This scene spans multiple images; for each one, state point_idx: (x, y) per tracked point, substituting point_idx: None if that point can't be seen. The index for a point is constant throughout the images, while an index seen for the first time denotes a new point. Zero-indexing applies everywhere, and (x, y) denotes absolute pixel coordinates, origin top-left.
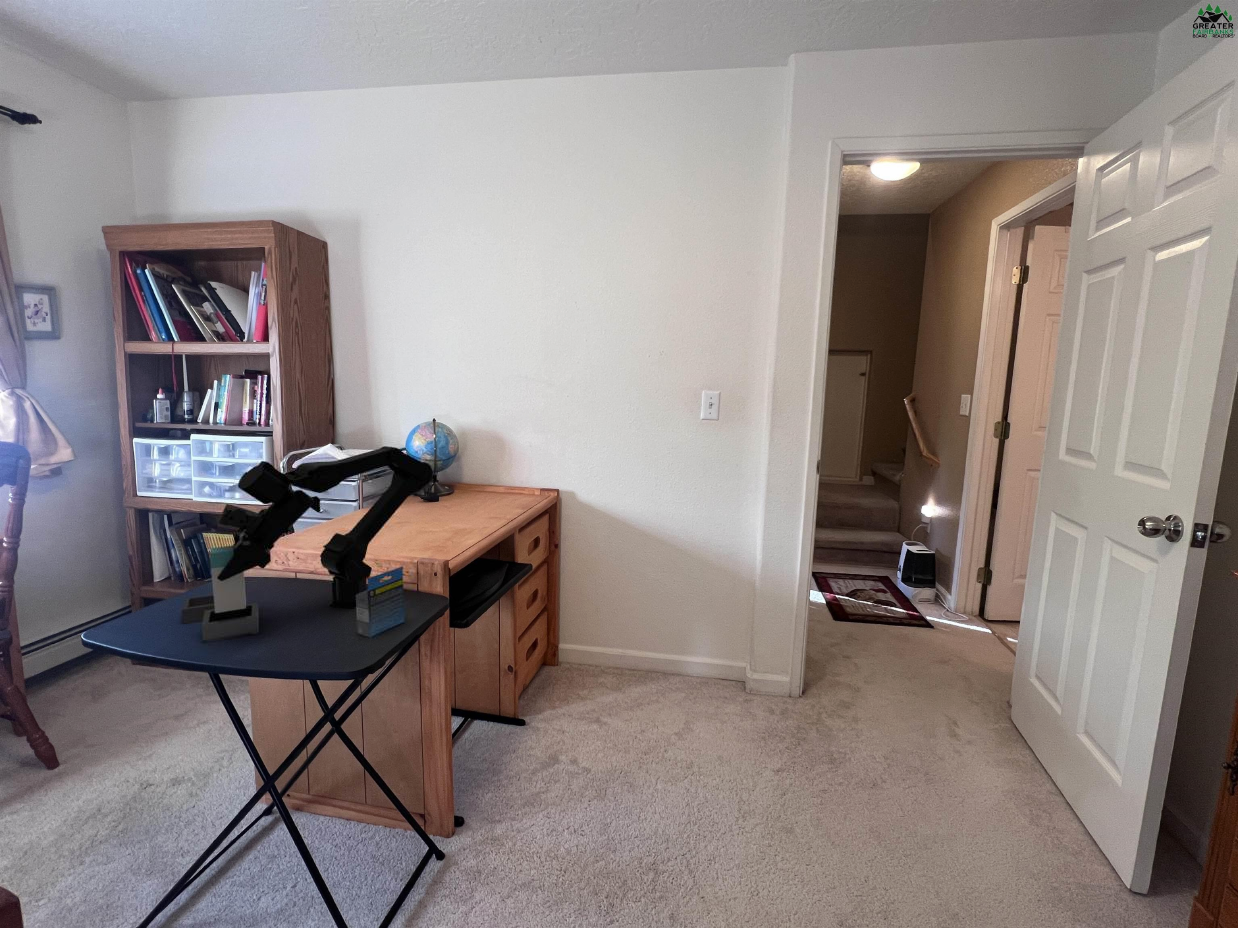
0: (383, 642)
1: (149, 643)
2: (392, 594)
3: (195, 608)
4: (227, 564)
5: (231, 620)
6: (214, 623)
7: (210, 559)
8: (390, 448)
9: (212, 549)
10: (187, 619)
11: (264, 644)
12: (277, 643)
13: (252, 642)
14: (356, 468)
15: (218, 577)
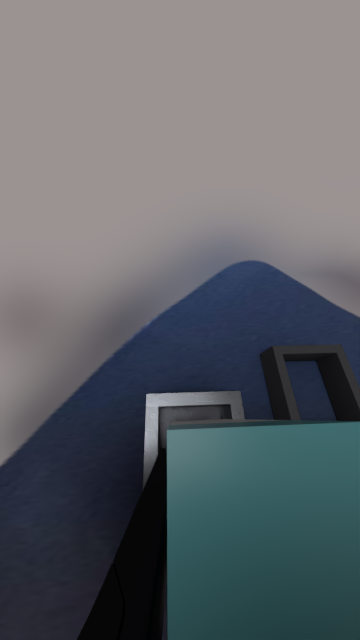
0: None
1: (190, 320)
2: None
3: (277, 369)
4: (114, 563)
5: (145, 462)
6: (146, 420)
7: (168, 427)
8: None
9: (310, 440)
10: (264, 359)
11: (66, 539)
12: (50, 582)
13: (97, 504)
14: None
15: (158, 455)
